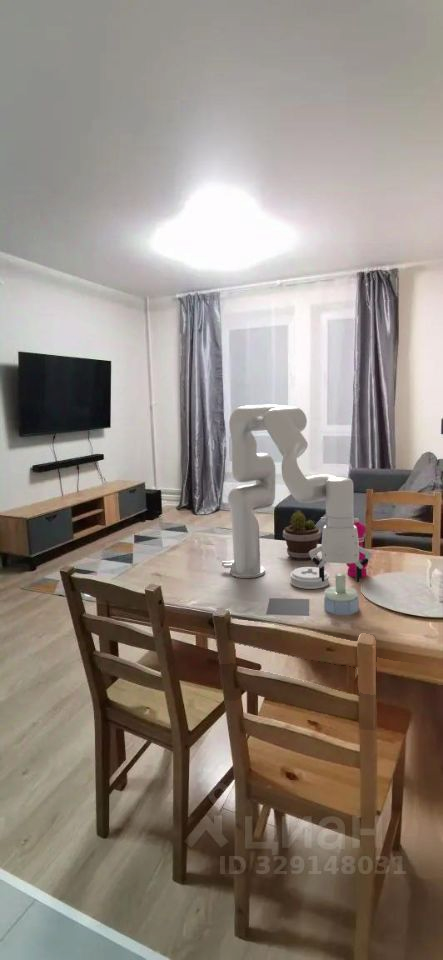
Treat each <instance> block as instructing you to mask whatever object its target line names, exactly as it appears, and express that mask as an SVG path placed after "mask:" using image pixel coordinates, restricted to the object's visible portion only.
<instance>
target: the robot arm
mask: <svg viewBox="0 0 443 960" xmlns="http://www.w3.org/2000/svg"><path fill="white" fill-rule="evenodd" d="M307 422H308V421H307V415H306V413H305V412H304V411H303V410H302V409H301V407H297V406H289V405H280V404H255V405H254V404H253V405H251V404H250V405H243V406H238V407H237V408H236V409H234V410H233V412H232V413H231V415H230V417H229V422H228V423H229V426H228V427H229V434H230V439H231V473H232V478H233V479H234V480H235V481H236V482H238V483H249V482H255V483H252V484H251V483H250V484H245V485H240V486H237V487H234V488H232V489H231V490H230V491H229V492H228V495H227V502H228V503H227V504H228V508H229V511H230V517H231V527H232V528H231V529H232V551H233V554H232V555H233V559H232V560H230V561H228V560H223V561H221V565H222V566H221V567H223V568H224V569H229V574H230V573H231V574H232V575H233V577H234V576H236V577H235V578H237V577H239V578H238V579H254V578H258V577H262V576H264V574H265V573H266V569H265V567H264V566H262V565H261V545H260V542H261V541H260V523H259V521H258V519H257V517H256V516H255V514H254V512H256V511H257V512H258V511H262V510H265V509H269V508H271V507H272V506H273V505H274V503H275V499H276V464H275V462H274V459H273V457H272V456H271V455H270V454H269V453H267V452H266V453H265V452H258V453H257V451H258V450H257V447H258V445H257V443H258V442H257V440H256V437H255V436H254V434H253V433H252V432H257V431H266V432H267V433H268V435H269V436H270V438H271V440H272V442H274V445H275V446H276V448H277V449H278V451H279V453H280V454H281V456H282V460H281V475H282V481H283V482H284V484H285V486H286V488H287V490H288V491H289V492H290V495H291V496H292V497H293V498H294V499H295V500H296V501H297V502H298V503H301V504H312V503H316V502H322V501H325V516H323V517H320V523H324V524H325V525H324V526H323V529H322V532H321V545H319V546H317V548H315V549H313V550H310V551H309V555H310V557H311V559H310V560H311V561H312V562H313V564H315V565H316V566H317V568H319V578H322V582H324V570H325V565H326V563H327V564H346V563H355V564H356V565H357V566H356V577H355V580H356V583H360V579H361V580H362V578H363V577H362V568H363V566H365V565H366V564H367V563H368V564H369V561H370V559H371V557H372V556H373V553H372V551H370V550H368V549H366V548H364V547H363V548H362V547H360V546H359V542H358V533H357V528H356V526H354V519H355V517H354V512H355V511H354V508H355V507H354V481H353V479H351V478H349V477H345V476H344V477H340V476H339V477H337V476H335V475H332V474H328V473H323V474H322V473H321V474H315V475H308V476H305V475H304V474H303V472H302V471H301V469H300V467H299V465H298V462H297V461H298V460H297V459H298V458H299V457H301V456H302V455H304V454H305V452H306V451H307V449H308V446H309V444H308V441H307V439H306V438H305V437H304V435H303V433H302V432H303V431H304V430H305V429H306V426H307V424H308V423H307ZM359 552H361V553H363V554H365V557H364V558H363V559H362V560H361V561H360V560H359ZM316 553H317V554H318V553H321V558H320V559H319V558H317V555H316V556H315V554H316ZM231 574H230V575H231ZM232 575H231V576H232Z"/></svg>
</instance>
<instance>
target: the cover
mask: <svg viewBox="0 0 443 960" xmlns="http://www.w3.org/2000/svg"><path fill="white" fill-rule="evenodd" d="M334 577H335V578H334V579H335V580H334V581H335V586H330V587H327V588H325V589H324V593H325V597H326V598H327V599H329V600H332V601H336V602H349V601H353V600H355V599H356V598H357V594H358V592H357V590H356V589H355V588H352V587H349V586H347V585H346V584H347V583H346V581H347V580H346V574H345V573H340V572H339V573H335V575H334Z"/></svg>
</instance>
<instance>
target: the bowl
mask: <svg viewBox="0 0 443 960" xmlns="http://www.w3.org/2000/svg"><path fill="white" fill-rule="evenodd" d="M359 602H360V601H359V595H358V593H357V598H356V599H355V600H353V601H349V602H336V601H332V600H329V599H327V598H326V597H325V592H324V593H323V604H324V605H323V607H324V609H323V610H324V611H326V612H328V613H330V614H333V615H339V616H351V615H352V614H353V615H354V614H355V613H358V612H359V611H360V610H359V609H360V608H359V607H360V606H359Z"/></svg>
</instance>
